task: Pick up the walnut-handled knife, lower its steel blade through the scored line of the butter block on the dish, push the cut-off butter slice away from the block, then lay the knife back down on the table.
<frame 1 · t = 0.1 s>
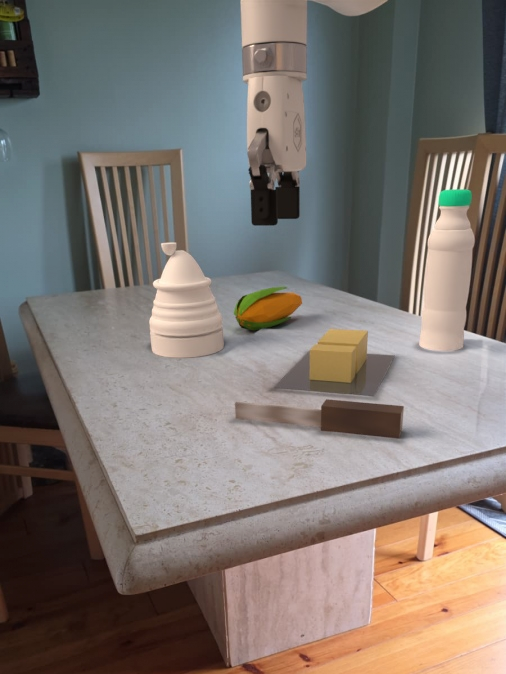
hand: (276, 221, 80), 23 cm above the table, tool pointing down, fingers open, 9 cm apart
corn: (270, 325, 126), on the table
butter slice: (332, 378, 90), point 1 cm above the table, touching butter dish
butter block: (342, 364, 95), point 1 cm above the table, touching butter dish
water bottle: (440, 351, 105), on the table
knife: (360, 438, 72), on the table
butter dish: (338, 376, 93), on the table
honey pot: (188, 348, 111), on the table
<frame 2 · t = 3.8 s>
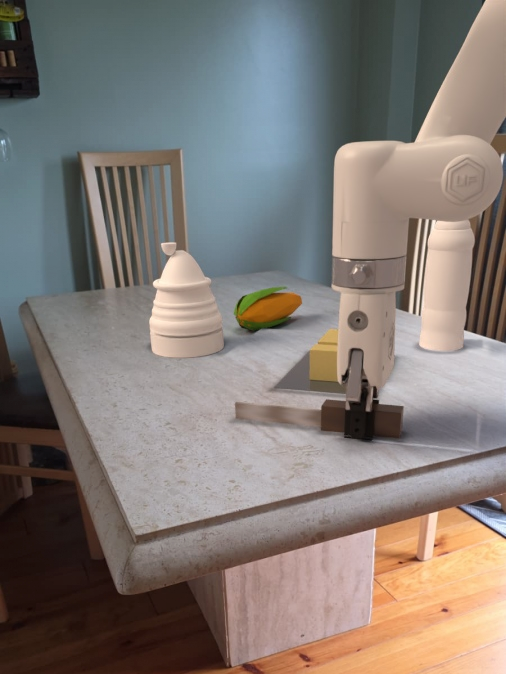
hand: (360, 435, 72), 0 cm above the table, tool pointing down, fingers closed on knife, 2 cm apart
knife: (360, 438, 72), on the table, touching gripper
everything else where it was.
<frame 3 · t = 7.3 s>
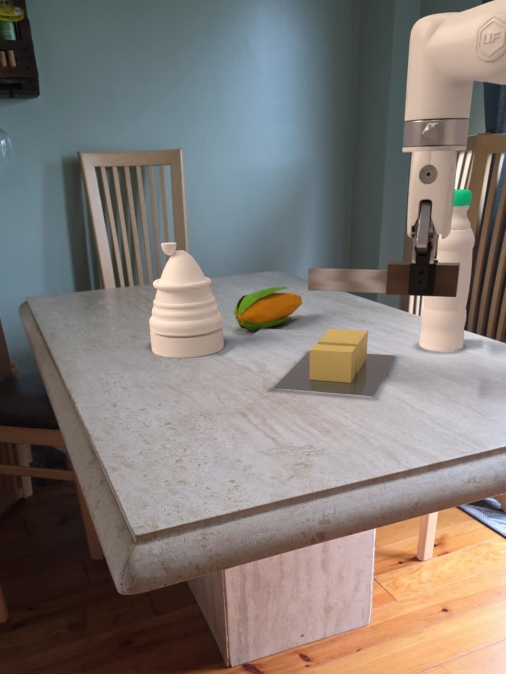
hand: (421, 291, 83), 13 cm above the table, tool pointing down, fingers closed on knife, 2 cm apart
knife: (421, 294, 83), point 13 cm above the table, touching gripper
everything else where it was.
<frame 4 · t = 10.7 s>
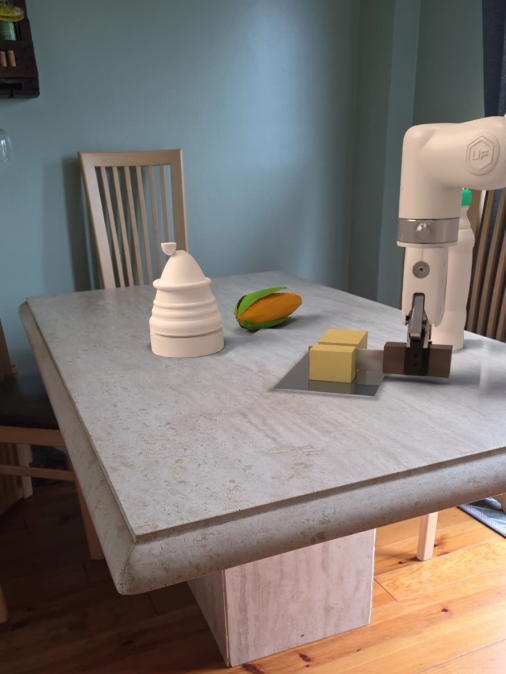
hand: (416, 370, 87), 3 cm above the table, tool pointing down, fingers closed on knife, 2 cm apart
butter slice: (332, 378, 90), point 1 cm above the table, touching knife
knife: (416, 373, 87), point 2 cm above the table, touching butter slice, gripper
everything else where it was.
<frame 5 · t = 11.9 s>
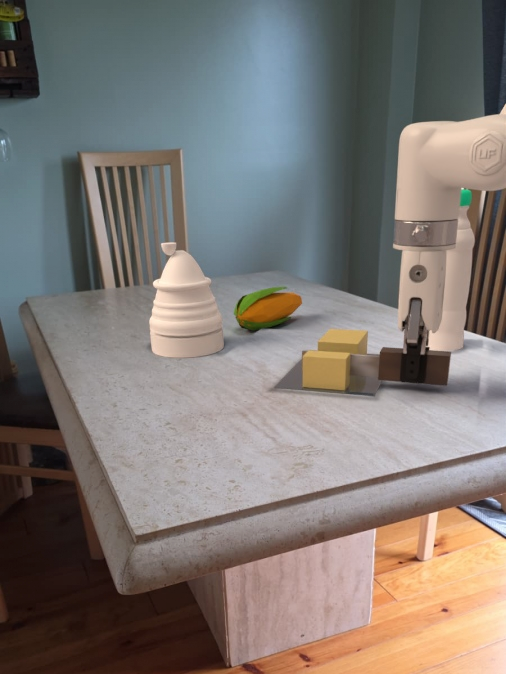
hand: (413, 377, 84), 3 cm above the table, tool pointing down, fingers closed on knife, 2 cm apart
butter slice: (326, 385, 87), point 1 cm above the table, touching butter dish, knife
knife: (412, 380, 84), point 2 cm above the table, touching butter slice, gripper
everything else where it was.
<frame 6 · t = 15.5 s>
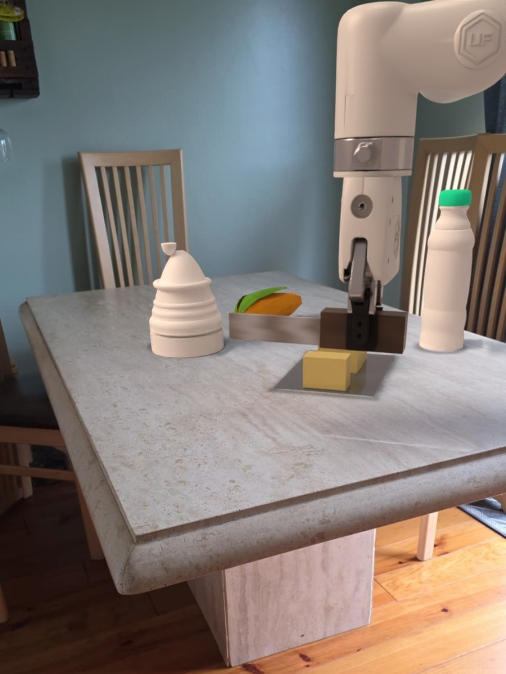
hand: (363, 345, 68), 11 cm above the table, tool pointing down, fingers closed on knife, 2 cm apart
butter slice: (326, 386, 86), point 1 cm above the table, touching butter dish
knife: (362, 348, 68), point 11 cm above the table, touching gripper
everything else where it was.
when the fingers open (0 cm above the table, at t = 18.0 s): knife stays where it is, on the table.
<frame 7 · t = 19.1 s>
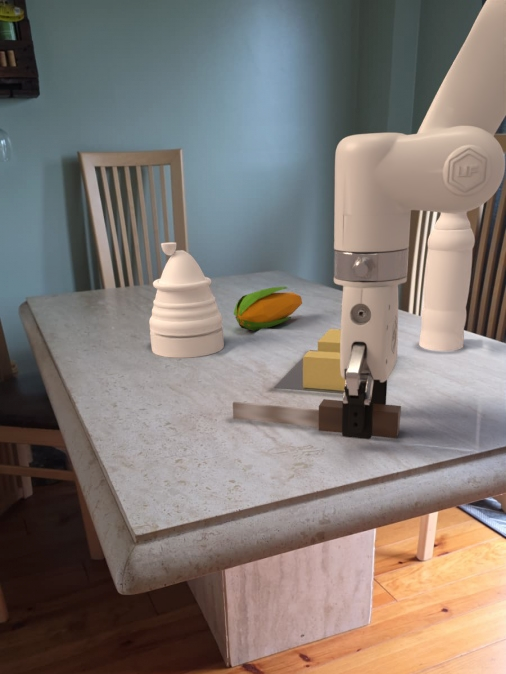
hand: (365, 420, 71), 2 cm above the table, tool pointing down, fingers open, 9 cm apart
knife: (358, 438, 72), on the table
everything else where it was.
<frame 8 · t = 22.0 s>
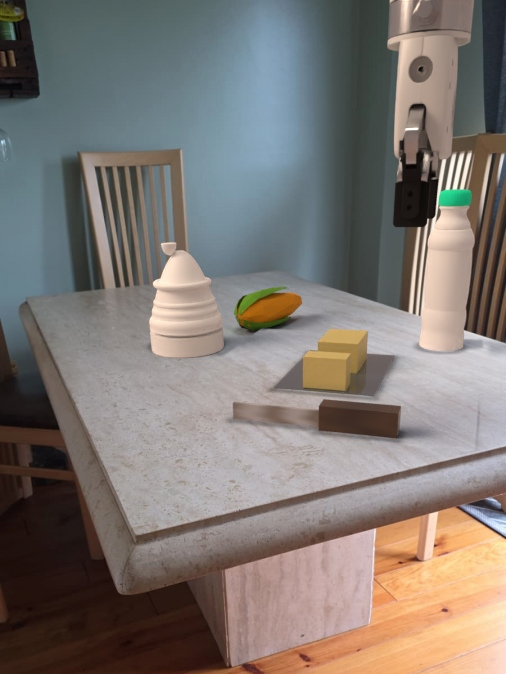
hand: (415, 222, 65), 23 cm above the table, tool pointing down, fingers open, 9 cm apart
nothing on the table moved.
at the end: butter slice 1.4 cm from the target spot on the table beside the butter block, resting on butter dish; butter block moved 0.0 cm from its start; the gripper is holding nothing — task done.
